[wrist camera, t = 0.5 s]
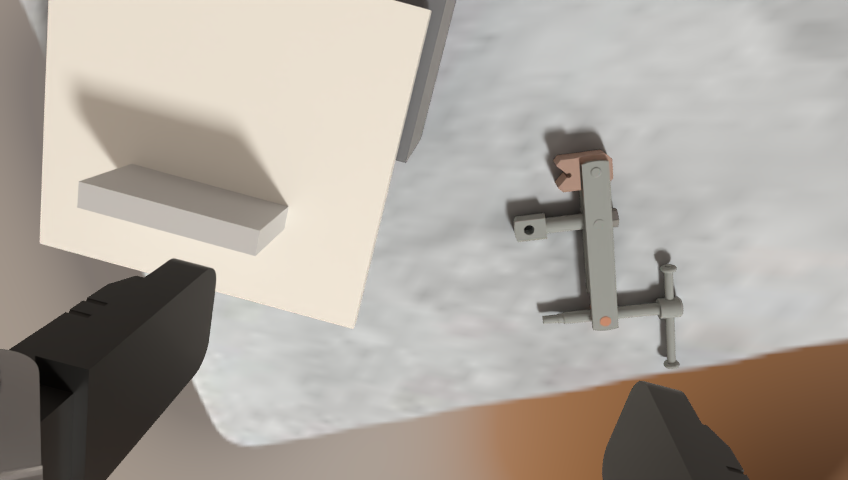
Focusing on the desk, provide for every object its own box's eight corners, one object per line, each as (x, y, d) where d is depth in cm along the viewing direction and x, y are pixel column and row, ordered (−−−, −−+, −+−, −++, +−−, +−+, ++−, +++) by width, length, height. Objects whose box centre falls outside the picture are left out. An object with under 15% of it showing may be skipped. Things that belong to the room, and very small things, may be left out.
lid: (64, -89, 26) (-24, -119, 21) (431, 11, 26) (422, 3, 21) (50, 238, 31) (-23, 271, 26) (356, 322, 31) (335, 368, 26)
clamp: (507, 167, 34) (683, 144, 33) (506, 160, 36) (671, 138, 35) (532, 387, 39) (687, 374, 38) (529, 370, 41) (676, 357, 40)
